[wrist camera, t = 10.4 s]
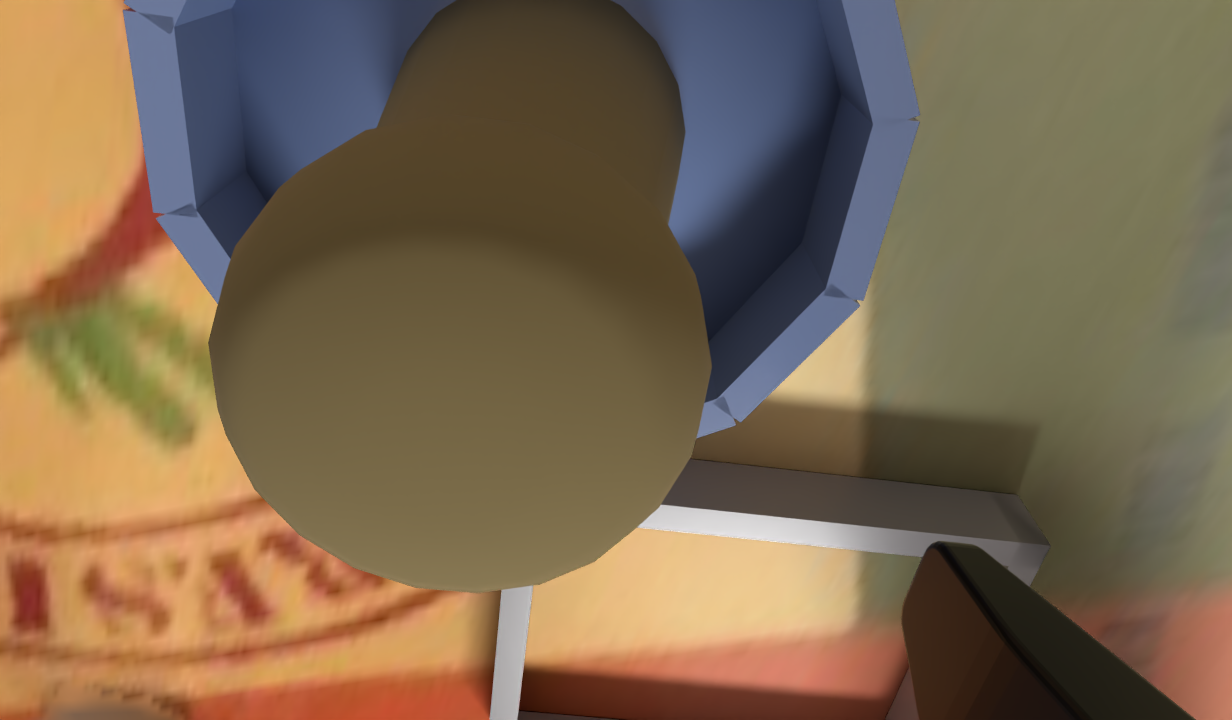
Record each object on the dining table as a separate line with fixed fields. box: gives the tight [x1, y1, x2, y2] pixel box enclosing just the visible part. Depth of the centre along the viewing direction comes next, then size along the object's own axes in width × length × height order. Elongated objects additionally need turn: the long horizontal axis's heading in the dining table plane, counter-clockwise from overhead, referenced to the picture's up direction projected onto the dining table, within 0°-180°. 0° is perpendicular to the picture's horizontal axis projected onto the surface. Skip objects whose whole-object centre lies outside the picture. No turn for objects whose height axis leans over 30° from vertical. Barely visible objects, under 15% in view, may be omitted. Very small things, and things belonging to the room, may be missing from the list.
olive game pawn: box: [208, 0, 712, 593], centre depth 12 cm, size 6×6×11 cm
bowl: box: [123, 0, 920, 438], centre depth 16 cm, size 14×14×3 cm
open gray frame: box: [490, 459, 1051, 720], centre depth 24 cm, size 14×12×2 cm
